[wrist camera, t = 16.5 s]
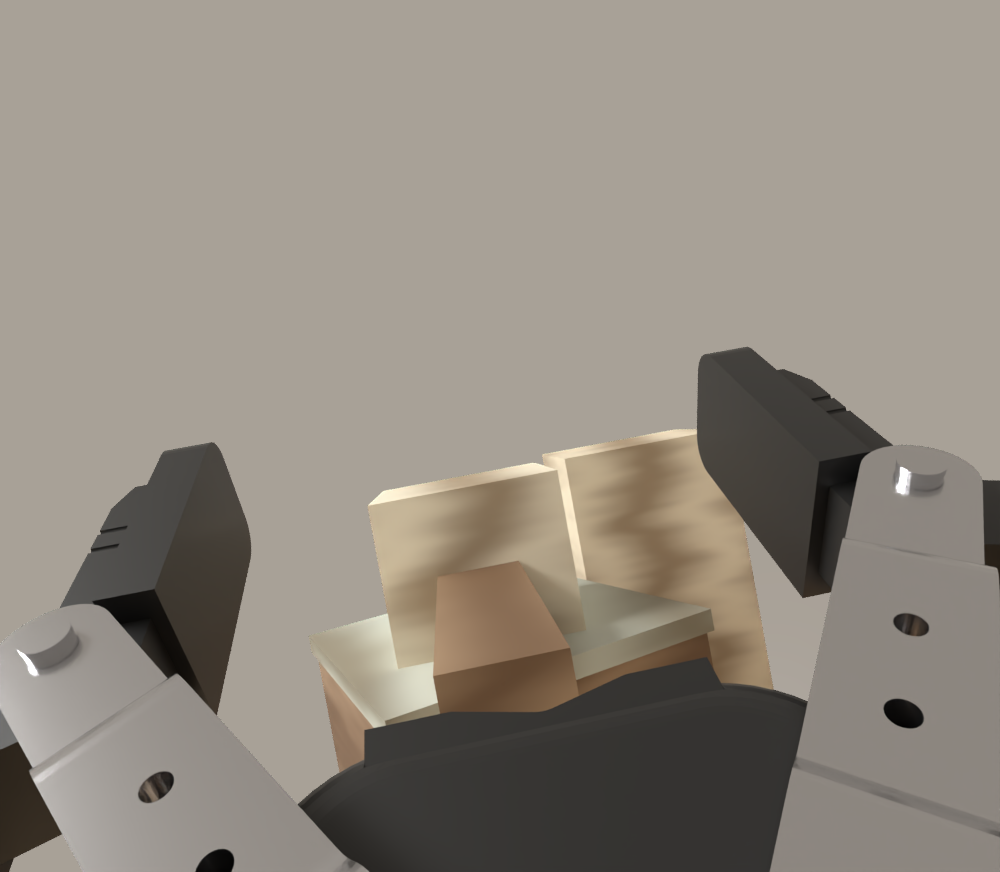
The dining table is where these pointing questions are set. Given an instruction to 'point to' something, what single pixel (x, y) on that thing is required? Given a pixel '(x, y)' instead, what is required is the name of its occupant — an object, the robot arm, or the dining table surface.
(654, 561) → the wooden block
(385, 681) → the cream-topped wooden box
